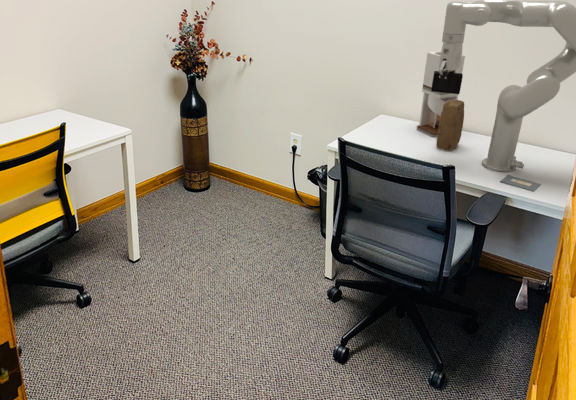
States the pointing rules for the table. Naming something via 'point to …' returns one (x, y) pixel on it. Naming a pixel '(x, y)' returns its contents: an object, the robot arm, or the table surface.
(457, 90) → the digital camera
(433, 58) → the toilet paper holder
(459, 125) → the brown rounded lump
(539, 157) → the table surface
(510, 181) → the card
